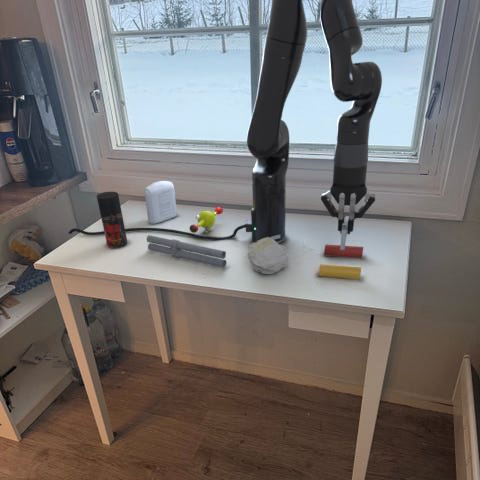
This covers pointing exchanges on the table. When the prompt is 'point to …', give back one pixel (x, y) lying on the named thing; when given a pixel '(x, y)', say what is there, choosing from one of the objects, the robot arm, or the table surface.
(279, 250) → the fossil replica
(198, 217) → the toy figure
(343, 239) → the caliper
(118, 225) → the deodorant
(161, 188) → the white rounded block
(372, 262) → the table surface
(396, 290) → the table surface
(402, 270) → the table surface
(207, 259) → the metal rod assembly
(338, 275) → the yellow rod
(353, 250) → the red rod
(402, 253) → the table surface
